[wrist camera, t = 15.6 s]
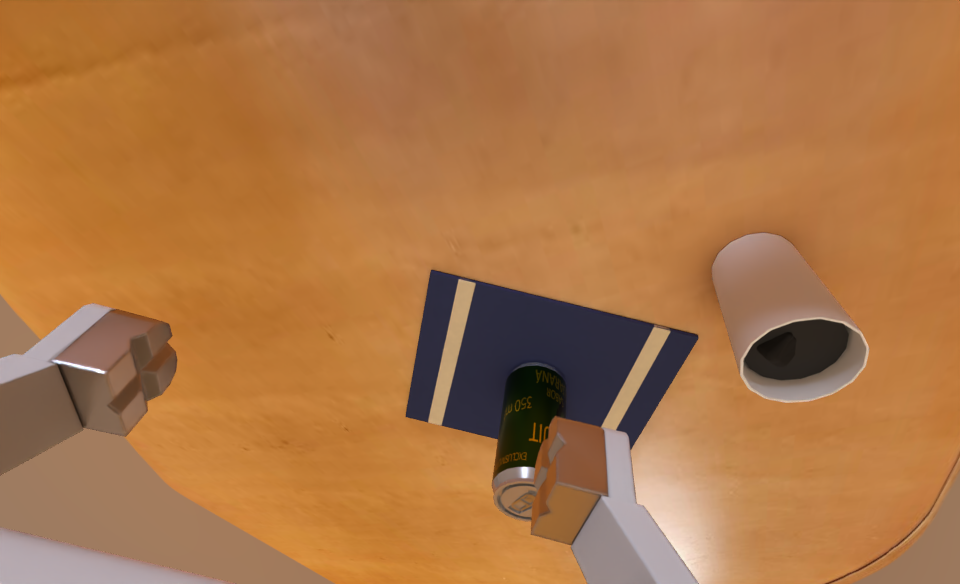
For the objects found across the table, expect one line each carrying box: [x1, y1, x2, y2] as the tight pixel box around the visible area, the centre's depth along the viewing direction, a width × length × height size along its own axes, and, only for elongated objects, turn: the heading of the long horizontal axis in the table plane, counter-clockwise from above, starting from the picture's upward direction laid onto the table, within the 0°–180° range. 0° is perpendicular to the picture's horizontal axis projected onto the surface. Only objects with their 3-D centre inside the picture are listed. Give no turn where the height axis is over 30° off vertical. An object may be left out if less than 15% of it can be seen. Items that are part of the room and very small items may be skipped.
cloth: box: [406, 270, 698, 450], centre depth 48 cm, size 22×18×1 cm
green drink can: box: [492, 362, 566, 521], centre depth 43 cm, size 5×5×12 cm
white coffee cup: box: [712, 233, 869, 403], centre depth 34 cm, size 7×7×10 cm
